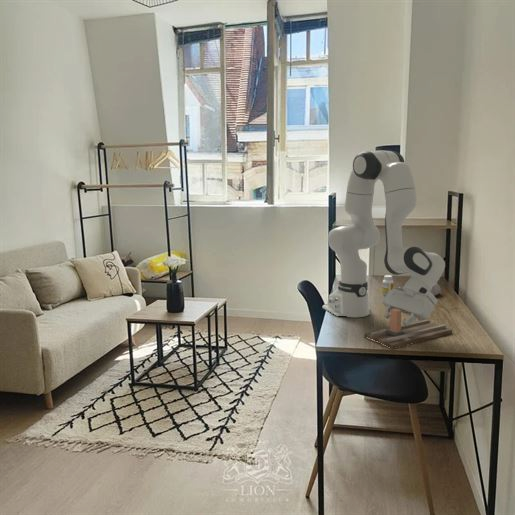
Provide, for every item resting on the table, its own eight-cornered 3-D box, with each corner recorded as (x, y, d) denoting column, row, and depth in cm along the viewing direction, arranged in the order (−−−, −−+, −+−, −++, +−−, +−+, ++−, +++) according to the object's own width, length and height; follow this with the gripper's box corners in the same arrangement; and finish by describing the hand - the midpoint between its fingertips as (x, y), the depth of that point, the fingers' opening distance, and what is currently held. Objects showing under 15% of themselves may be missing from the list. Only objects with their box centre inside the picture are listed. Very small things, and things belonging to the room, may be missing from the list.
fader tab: (386, 333, 171) (386, 309, 169) (394, 331, 172) (394, 307, 171) (396, 336, 166) (397, 312, 165) (404, 334, 168) (405, 310, 166)
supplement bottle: (391, 293, 234) (391, 274, 232) (394, 295, 229) (395, 276, 227) (380, 293, 234) (381, 274, 232) (384, 296, 229) (384, 277, 227)
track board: (364, 337, 172) (364, 330, 171) (423, 323, 186) (423, 317, 186) (391, 349, 160) (391, 342, 159) (452, 333, 174) (452, 326, 174)
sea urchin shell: (430, 299, 222) (431, 282, 221) (406, 294, 232) (406, 278, 231) (445, 294, 230) (446, 278, 229) (420, 289, 241) (421, 274, 239)
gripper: (390, 281, 179) (371, 309, 176) (433, 292, 161) (412, 323, 158) (398, 290, 182) (379, 318, 179) (441, 302, 164) (420, 333, 161)
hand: (395, 320), depth 168 cm, fingers open, 8 cm apart
